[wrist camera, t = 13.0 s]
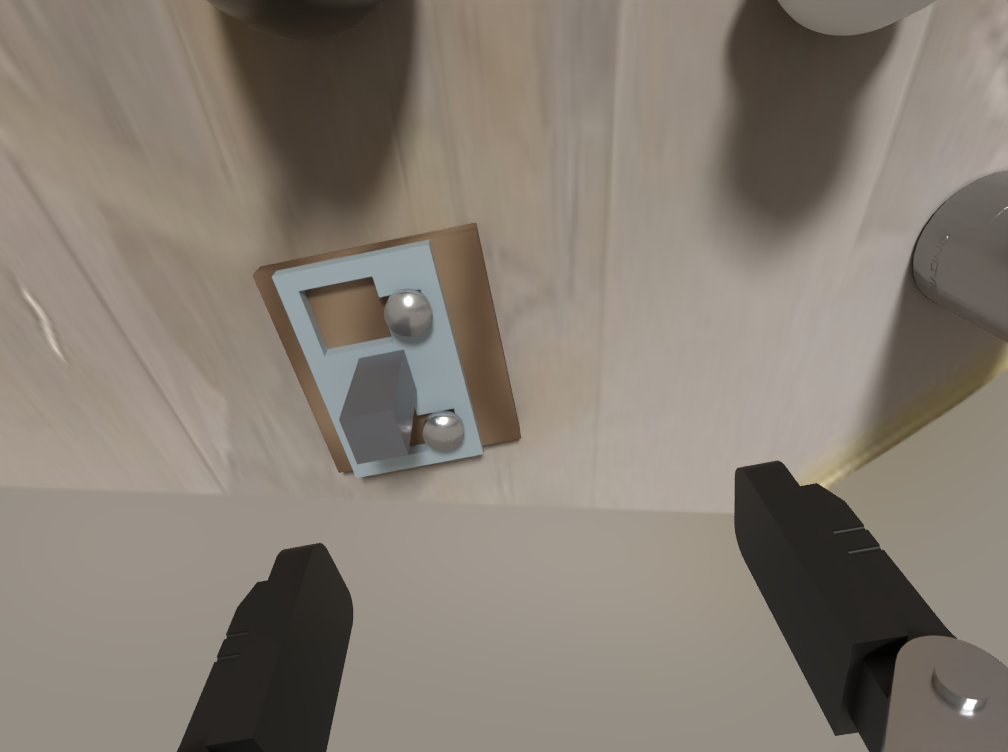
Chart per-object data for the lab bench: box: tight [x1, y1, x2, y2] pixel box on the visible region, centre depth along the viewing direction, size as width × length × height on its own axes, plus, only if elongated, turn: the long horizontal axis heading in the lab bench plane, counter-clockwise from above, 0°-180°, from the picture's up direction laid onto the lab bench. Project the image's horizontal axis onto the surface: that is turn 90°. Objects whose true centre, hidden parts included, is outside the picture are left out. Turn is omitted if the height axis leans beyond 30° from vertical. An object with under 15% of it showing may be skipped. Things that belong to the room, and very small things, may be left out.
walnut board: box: [253, 223, 521, 473], centre depth 38 cm, size 14×16×4 cm
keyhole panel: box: [272, 240, 484, 478], centre depth 35 cm, size 10×16×8 cm, turn 11°
